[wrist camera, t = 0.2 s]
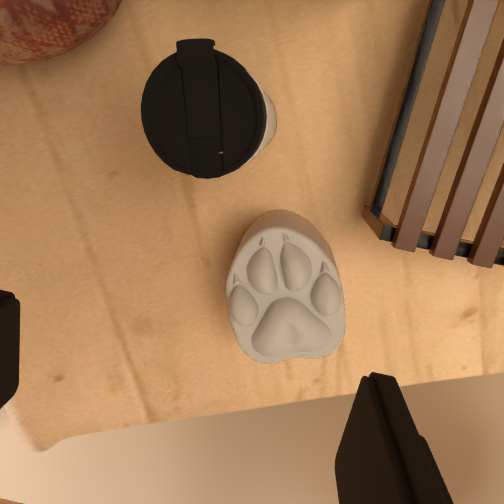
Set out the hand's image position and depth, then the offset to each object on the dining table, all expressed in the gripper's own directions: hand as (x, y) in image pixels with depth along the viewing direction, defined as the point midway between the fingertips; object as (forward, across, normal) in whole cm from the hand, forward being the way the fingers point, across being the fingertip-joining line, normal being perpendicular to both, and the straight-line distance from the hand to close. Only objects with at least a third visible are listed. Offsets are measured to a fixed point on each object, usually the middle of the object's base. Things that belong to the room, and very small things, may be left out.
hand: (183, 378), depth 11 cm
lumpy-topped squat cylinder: (+31, -4, +7) cm, 32 cm away
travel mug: (+31, +3, -7) cm, 32 cm away
